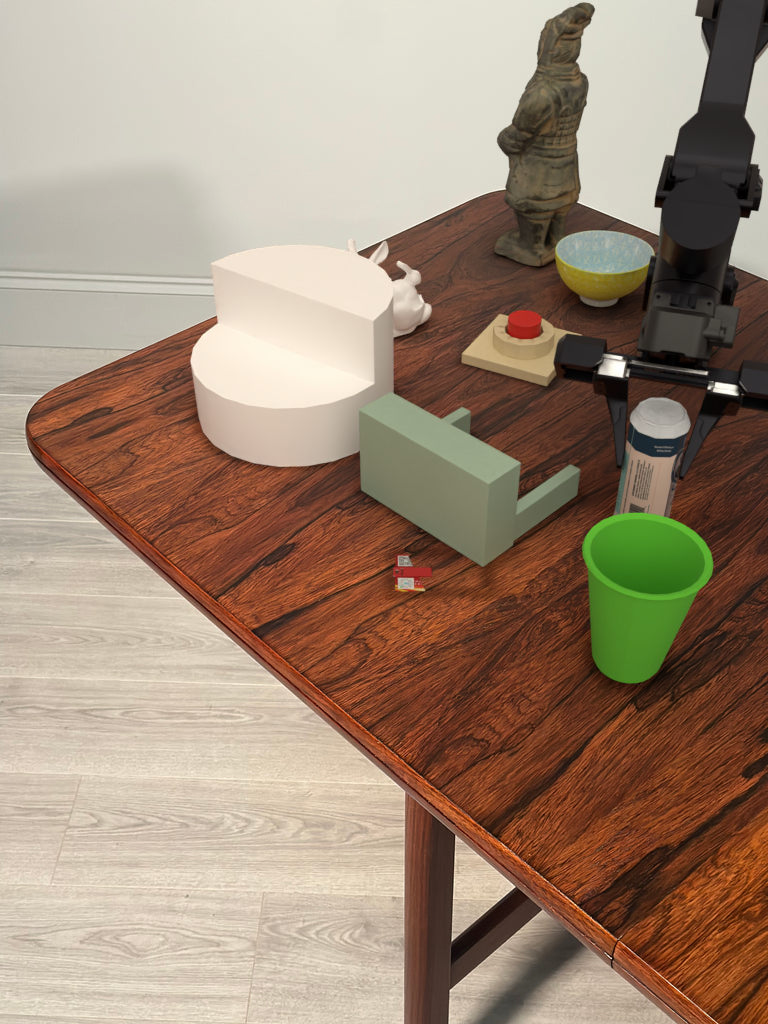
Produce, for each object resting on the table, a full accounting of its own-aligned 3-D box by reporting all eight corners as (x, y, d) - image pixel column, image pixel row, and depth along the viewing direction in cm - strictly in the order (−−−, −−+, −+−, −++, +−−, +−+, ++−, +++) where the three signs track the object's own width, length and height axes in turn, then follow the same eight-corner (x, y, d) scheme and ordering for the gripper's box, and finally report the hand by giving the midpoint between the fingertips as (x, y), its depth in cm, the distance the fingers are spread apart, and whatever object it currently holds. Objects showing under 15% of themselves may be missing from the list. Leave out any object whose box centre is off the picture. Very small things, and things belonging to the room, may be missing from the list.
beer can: (677, 535, 90) (703, 422, 82) (627, 546, 89) (648, 432, 81) (652, 501, 94) (674, 390, 86) (603, 511, 93) (621, 399, 85)
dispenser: (458, 430, 104) (462, 352, 98) (580, 496, 96) (591, 415, 90) (360, 490, 97) (358, 409, 91) (482, 567, 88) (488, 483, 83)
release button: (515, 321, 115) (516, 307, 114) (545, 329, 114) (546, 314, 113) (501, 335, 113) (502, 321, 112) (532, 343, 112) (533, 329, 110)
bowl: (530, 294, 126) (534, 246, 122) (598, 267, 131) (604, 221, 127) (598, 332, 119) (605, 282, 115) (667, 302, 124) (675, 254, 120)
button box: (499, 322, 120) (500, 299, 119) (580, 343, 117) (583, 320, 115) (461, 363, 114) (462, 338, 112) (546, 386, 110) (549, 362, 108)
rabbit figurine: (334, 347, 116) (330, 268, 110) (321, 315, 122) (317, 237, 116) (437, 334, 118) (440, 255, 112) (420, 303, 124) (422, 226, 118)
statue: (528, 227, 140) (550, -17, 121) (586, 248, 135) (618, -3, 116) (475, 254, 134) (489, 1, 115) (533, 277, 129) (558, 17, 110)
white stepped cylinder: (157, 421, 105) (136, 303, 97) (284, 339, 118) (276, 228, 109) (311, 492, 96) (303, 369, 88) (431, 395, 109) (434, 278, 100)
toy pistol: (392, 592, 86) (392, 551, 90) (392, 595, 86) (392, 555, 90) (488, 592, 86) (484, 552, 90) (488, 596, 86) (484, 556, 90)
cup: (692, 632, 82) (719, 526, 75) (678, 718, 76) (706, 610, 69) (578, 606, 85) (595, 501, 78) (555, 687, 78) (571, 580, 71)
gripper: (569, 243, 82) (529, 437, 81) (820, 275, 77) (781, 481, 76) (576, 288, 92) (540, 459, 92) (796, 318, 88) (761, 499, 87)
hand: (649, 473), depth 86 cm, fingers closed on beer can, 5 cm apart
